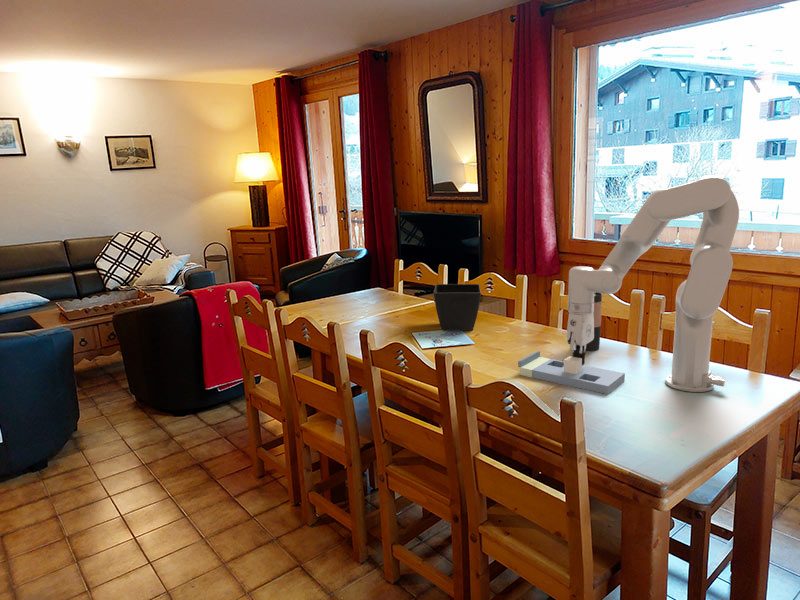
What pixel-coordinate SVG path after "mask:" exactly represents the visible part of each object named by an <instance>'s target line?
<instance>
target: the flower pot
mask: <svg viewBox="0 0 800 600" xmlns="http://www.w3.org/2000/svg"><path fill="white" fill-rule="evenodd" d="M480 286H481V285H480V284H478V283H477V284H475V283H469V284H468V283H455V284H454V283H449V284H448V283H441V284H439V283H437V284H435V285H434V290H433V299H434V305H435V310H436V314H437V318H438V322H439V325H440V328H441V330H442V331H473V330H474V327H475V325H476V321H477V318H478V313H479V309H480V303H481V298H482V297H481V295H482V290H481V287H480Z"/></svg>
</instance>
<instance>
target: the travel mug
mask: <svg viewBox="0 0 800 600" xmlns="http://www.w3.org/2000/svg"><path fill="white" fill-rule="evenodd" d="M602 295H603V293H598V292H594V312H593V315H594V339H593V340H592V341H591V342H589V343H587V344H586V351H589V352H594V351H598V350H599V349H600V343H601V330H602V329H601V327H602V326H601V325H602V302H603V301H602V299H603V298H602V297H603V296H602ZM586 351H585V352H586Z"/></svg>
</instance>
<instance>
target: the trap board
mask: <svg viewBox="0 0 800 600" xmlns="http://www.w3.org/2000/svg"><path fill="white" fill-rule="evenodd" d="M517 364H518V365H517V367H518V368H520V372H519V373H520V376H524V377H528V378H531V379H538V380H541V381H546V382H549V383H550V382H552V383H554V384H559V385H563V386H569V387H574V388H578V389H581V390H586V391H590V392H595V393H596V392H597V393H600V394H604V395H609V394H610V393H612V391H613V392H614V390H616V389H617V387H619V386H621V384H623V383H625V381H626V380H625V378H626V373H624V372H619V371H614V370H610V369H605V368H604V369H603V368H601V367H600V368H599V367H595V366H589V365H585V364H584V365H582V371H581V372H579V373H578V374H571V373H567V372H564V360H563V361H562V360H558V359H553V358H549V357H543V356H541V351H540V350H536V351H534V352H533V353H531V354H528V355H527V356H525V357H523V358H521V359H519V360H517Z"/></svg>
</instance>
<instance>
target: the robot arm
mask: <svg viewBox="0 0 800 600" xmlns="http://www.w3.org/2000/svg"><path fill="white" fill-rule="evenodd" d="M700 213H702V216H703V217H702V222H701V225H700V229H699V232H698V235H697V238H696V242H695V244H694V247H693V248H692V251H691V253H690V256H689V264H690V270H689V273H688V275H687V278H686V279H685V280H684V281H682V282H681V283H680V285H679V286H678V288H677V290H676V294H675V319H674V321H675V322H674V332H673V333H674V335H673V350H672V363H671V374H669V375H668V376H666V377H665V384H666V385H667V386H669V387H670V388H672V389H675V390H678V391H683V392H689V393H704V392H709V391H712V390H713V389H714V387H715V386H718V387H723V388H724V387H725V386H726V385H725V383H726V380H725V379H723V377H720V376H715V375H713V374H712V370H710V369H709V368H710V359H711V358H710V357H711V347H712V337H713V336H712V335H713V325H714V324H713V323H714V319H713V318H714V314H715V313H716V312H717V311H718V310H719V307H720V305H721V302H722V300H723V297H724V294H725V292H726V289H727V287H728V284H729V280H730V278H731V275H732V272H733V271H732V270H733V266H734V265H733V264H734V260H733V256H732V255H731V252H730V251H731V248H732V244H733V241H734V239H735V238H734V237H735V234H736V231H737V228H738V224H739V219H740V209H739V203H738V200H737V198H736V195H735V193H734V192H733V190H732V189H731V186H730V184H729V182H728V181H727V180H726V179H725V178H723V177H721V176H719V175H713V174H711V175H710V174H709V175H708V174H707V175H704V176H701V177H699V178H697V179H696V180H694V181H690V182H687V183H685V184H679V185H676V186H673V187H669V188H667V187H664V188H663V187H662V188H658V189H655V190H654V191H653V192H652V193H650V194H649V196H648V197H647V198H646V200H645V201H644V203H643V204H642V206H641V207H640V208H639V210H638V211H637V212H636V215H635V216H634V217H633V219H632V220H631V222H629V224H628V226H627V227H626V228H625V230H624V232H622V234H621V236H620V238H619V240H618V241H617V243H616V244H615V246H614V247H612V250H611V251H610V252H609V253H608V255H607V256H606V258H605V259H604V261H603V262H602V263H601V265H600V266H599V268H598V269H594V268H593V267H592V266H591V267H590V266H586V265H585V266H584V265H583V266H581V265H579V266H573V267H571V268H570V269H569V270H568V288H567V289H568V296H567V297H568V298H567V312H568V319H567V327H566V343H567V344H568V345H569V350H571V351H572V357H577V358H582V365H585V364H586V363H585V359H586V344H587V343H589V342H591V341H592V340H593V339H594V315H593V312H594V293H596V292H598V293H601V294H602V295H603V294H604V295H612V294H615V293H617V292H618V291H619V290H620V289H621V287H622V285H623V279H624V277H625V276H626V275H627V273H629V271H630V269H631V267H632V266H633V265H634V263H635V262H636V261H637V260H638V259H639V258H640V257H641V256H642V255H643V254H645V253H646V252H648V251H649V250H650V248H652V246H653V245H654V244H655V242H656V241H657V239H658V238H659V237H660V235H661V233H662V232H663V231H664V230H665V228H666V227H667V226H668V224H669V223H670V221H672V220H678V219H681V218H686V217H689V216H693V215H697V214H700Z"/></svg>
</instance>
